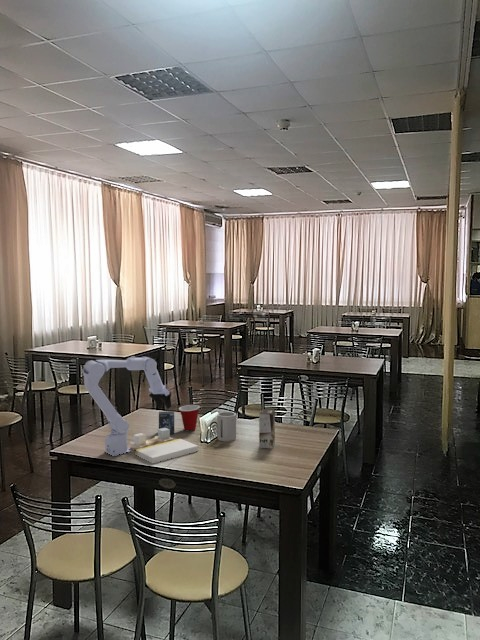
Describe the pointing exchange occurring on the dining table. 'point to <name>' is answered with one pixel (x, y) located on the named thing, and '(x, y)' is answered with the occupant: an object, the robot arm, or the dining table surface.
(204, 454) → the dining table surface
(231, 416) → the cup
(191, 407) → the plastic cup
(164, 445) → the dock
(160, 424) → the box
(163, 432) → the block
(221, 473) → the dining table surface
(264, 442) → the coffee box
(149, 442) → the pallet
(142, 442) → the crate
